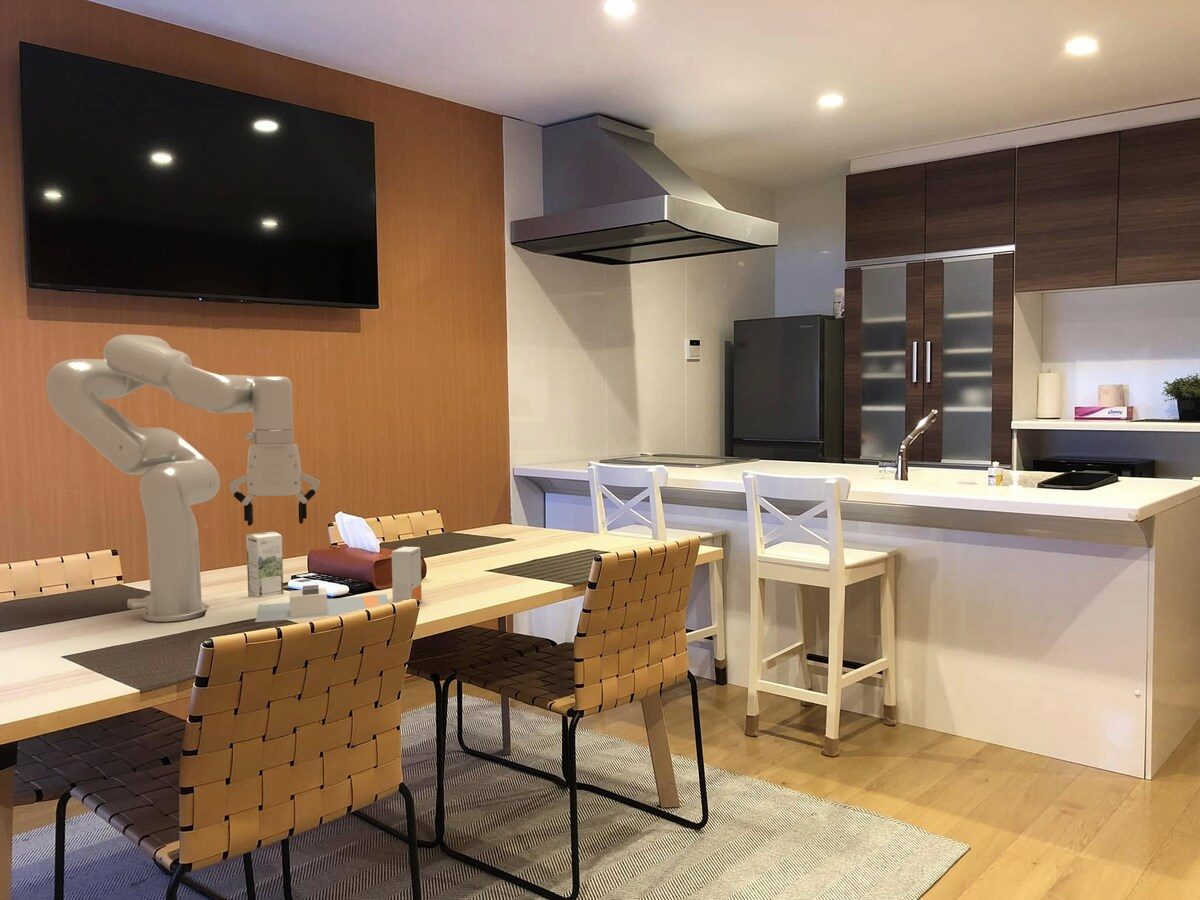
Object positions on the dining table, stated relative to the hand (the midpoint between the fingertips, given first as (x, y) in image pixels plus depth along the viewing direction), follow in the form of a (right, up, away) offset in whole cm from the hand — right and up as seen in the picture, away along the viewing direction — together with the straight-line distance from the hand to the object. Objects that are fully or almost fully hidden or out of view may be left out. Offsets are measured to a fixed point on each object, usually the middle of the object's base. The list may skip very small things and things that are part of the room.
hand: (276, 523), depth 185 cm
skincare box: (+24, -18, +11) cm, 32 cm away
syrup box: (-9, -18, +20) cm, 28 cm away
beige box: (+6, -18, +1) cm, 19 cm away
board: (+8, -19, +5) cm, 21 cm away
